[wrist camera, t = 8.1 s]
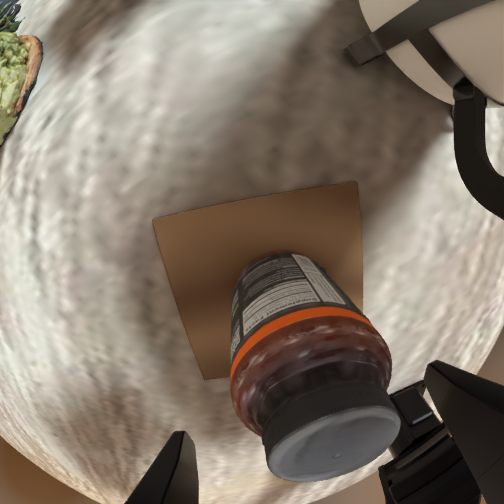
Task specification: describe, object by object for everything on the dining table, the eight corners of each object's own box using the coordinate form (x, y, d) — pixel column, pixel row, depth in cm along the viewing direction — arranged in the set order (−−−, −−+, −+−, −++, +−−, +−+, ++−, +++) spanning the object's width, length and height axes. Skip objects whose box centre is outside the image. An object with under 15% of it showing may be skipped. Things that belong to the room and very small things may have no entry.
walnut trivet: (355, 336, 20) (361, 345, 19) (205, 369, 19) (204, 380, 18) (348, 180, 16) (357, 182, 15) (157, 215, 16) (152, 219, 15)
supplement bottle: (331, 322, 17) (409, 460, 6) (244, 343, 17) (255, 504, 7) (321, 236, 16) (450, 348, 5) (220, 259, 16) (196, 422, 5)
